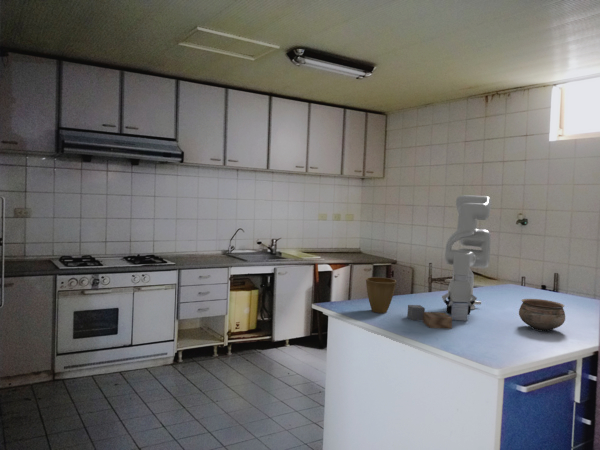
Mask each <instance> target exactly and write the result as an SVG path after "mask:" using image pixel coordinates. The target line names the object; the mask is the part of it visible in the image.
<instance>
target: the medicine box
mask: <svg viewBox="0 0 600 450" xmlns="http://www.w3.org/2000/svg"><path fill="white" fill-rule="evenodd" d="M451 306H452V310H451V315H450V314H448V315H449V316H450V317H451V318H452V321H460V322H461V321H463V322H465V321H466V322H468V317H469V315H468V303H467V302H453V303H452V304H451Z"/></svg>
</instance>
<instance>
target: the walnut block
mask: <svg viewBox="0 0 600 450" xmlns="http://www.w3.org/2000/svg"><path fill="white" fill-rule="evenodd" d="M422 323H424V324H425V326H427V327H428V328H430V329H450V330H451V329H452V325H453V320H452V318H451V317H450V316H449V314H448V313H447V312H438V311H437V312H433V311H431V312H430V311H425V312H423V321H422Z"/></svg>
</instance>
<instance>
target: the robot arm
mask: <svg viewBox="0 0 600 450" xmlns="http://www.w3.org/2000/svg"><path fill="white" fill-rule="evenodd" d="M455 206H456V210H457V213H458V218H457V228H456V231H455V232H454V233H452V234H451V236H450V237H449V238H447V242H446V245H445V249H444V250H445V252H444V262H445V263H446V264H447V265H449V266H452V278H451V279H450V280H449V284H448V288H447V293H445V294H444V295H441V299H442V301H443V302H444V303H445V305H446V314H447V315H449V314H450V315H451V310H452V306H451V304H452V303H453V302H467V303H468V316H470V313H471V310H475V309H476V306H475V305H481V304H482V301H481V300H477V299H478V297H476V296H475V295H474V285H475V284H474V282H475V275H474V272H473V271H472V269H471V268H479V269H486V268H488V267H489V266H490V259H491V247H492V246H491V244H492V243H491V242H492V237H491V236H492V234H491V233H490V231H489V230H487V229H481V228H477V226H478V220H479V221H487V220H488V219H489V218H490V215H491V208H492V200H491V197H490V196H487V195H471V194H469V195H468V194H465V195H458V196H457V197H456V201H455ZM457 241H459V244H460V245H461V246H464V247H473V248H458V249H452V247H453V245H455V243H456V242H457ZM474 248H475V249H474ZM476 248H480V249H476Z"/></svg>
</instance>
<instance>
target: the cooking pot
mask: <svg viewBox="0 0 600 450" xmlns="http://www.w3.org/2000/svg"><path fill="white" fill-rule="evenodd" d="M521 303H522V304H521V305H520V307H519V309H518V315H519V317H520V319H521V321H522V322H523V323H524V324H526V325H527V326H529V327H530V328H531V329H533V330H535V331H538V332H550V331H552V330H554V329H557V328H560V327H561V326H562V325H563V324H564V323H565V321H566V313H565V309H564V307H565V304H563V303H561V302H557V301H554V300H546V299H538V298H524V299H521Z"/></svg>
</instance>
